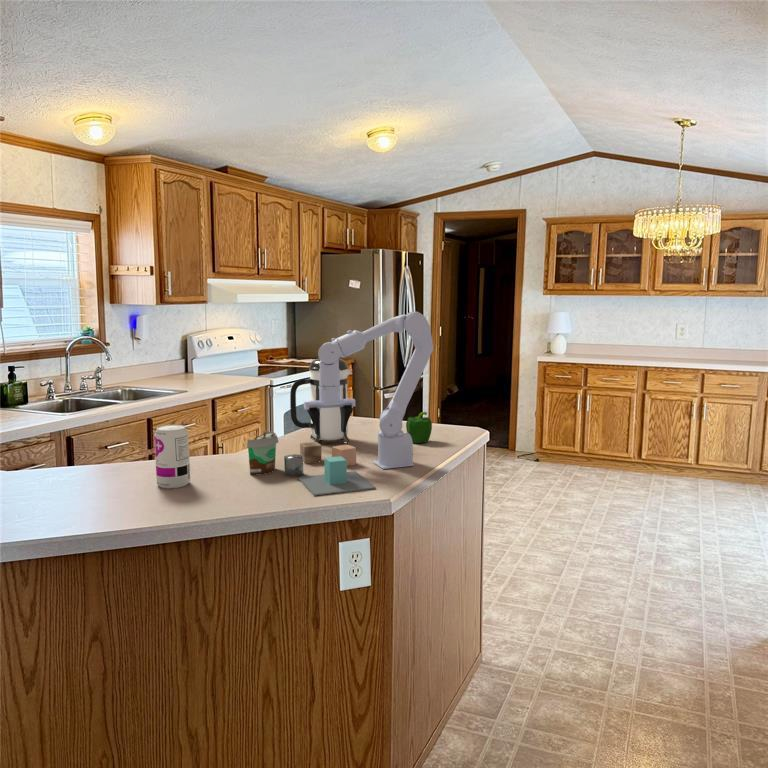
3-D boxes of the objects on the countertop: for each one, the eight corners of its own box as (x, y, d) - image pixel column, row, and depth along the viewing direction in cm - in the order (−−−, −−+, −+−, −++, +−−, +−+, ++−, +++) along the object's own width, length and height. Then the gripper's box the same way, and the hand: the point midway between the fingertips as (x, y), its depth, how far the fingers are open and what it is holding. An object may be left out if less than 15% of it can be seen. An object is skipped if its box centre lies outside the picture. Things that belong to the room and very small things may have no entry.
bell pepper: (402, 443, 216) (402, 413, 215) (411, 438, 224) (411, 409, 222) (426, 445, 213) (427, 415, 212) (435, 440, 221) (435, 410, 219)
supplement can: (160, 491, 167) (156, 432, 165) (154, 482, 174) (151, 426, 172) (193, 486, 170) (190, 428, 168) (186, 478, 178) (184, 423, 176)
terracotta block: (346, 461, 195) (346, 444, 194) (356, 464, 191) (356, 447, 190) (332, 463, 192) (332, 446, 192) (341, 467, 188) (341, 450, 188)
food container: (269, 477, 178) (268, 441, 177) (248, 476, 179) (246, 440, 178) (285, 465, 190) (284, 431, 189) (265, 464, 191) (264, 430, 190)
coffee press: (324, 433, 231) (323, 347, 227) (361, 439, 222) (360, 349, 218) (289, 443, 217) (287, 351, 213) (327, 450, 208) (325, 354, 204)
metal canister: (303, 471, 184) (302, 454, 183) (303, 476, 179) (303, 458, 178) (284, 472, 183) (284, 454, 182) (284, 477, 178) (284, 459, 178)
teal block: (341, 478, 175) (340, 456, 175) (346, 482, 171) (346, 460, 170) (324, 480, 174) (324, 457, 173) (330, 485, 170) (329, 461, 169)
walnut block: (316, 458, 199) (316, 441, 198) (321, 462, 194) (321, 445, 193) (300, 459, 197) (300, 443, 196) (304, 464, 192) (304, 447, 191)
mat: (355, 472, 182) (355, 470, 182) (375, 489, 168) (375, 487, 168) (298, 478, 177) (298, 477, 177) (314, 496, 162) (313, 494, 162)
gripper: (349, 382, 193) (350, 428, 195) (300, 384, 188) (301, 432, 190) (357, 385, 187) (358, 432, 189) (307, 388, 182) (308, 437, 184)
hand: (330, 432), depth 189 cm, fingers open, 7 cm apart
